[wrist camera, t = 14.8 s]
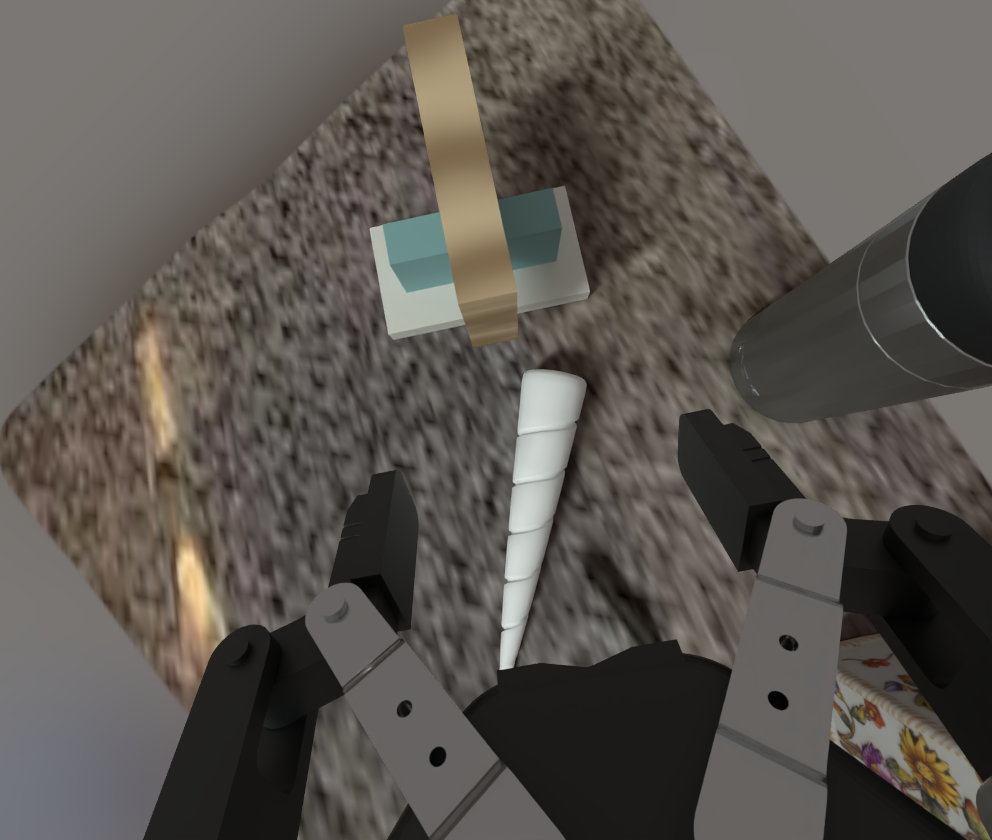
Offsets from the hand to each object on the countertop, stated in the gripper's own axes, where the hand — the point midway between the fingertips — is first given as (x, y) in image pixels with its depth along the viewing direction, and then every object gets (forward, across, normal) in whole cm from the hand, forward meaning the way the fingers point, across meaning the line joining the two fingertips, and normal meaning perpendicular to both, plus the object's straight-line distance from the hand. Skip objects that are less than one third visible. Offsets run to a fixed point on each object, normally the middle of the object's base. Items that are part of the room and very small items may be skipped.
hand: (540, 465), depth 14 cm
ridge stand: (+29, +1, +3) cm, 29 cm away
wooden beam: (+24, +1, -1) cm, 24 cm away
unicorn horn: (+15, +1, +19) cm, 24 cm away
